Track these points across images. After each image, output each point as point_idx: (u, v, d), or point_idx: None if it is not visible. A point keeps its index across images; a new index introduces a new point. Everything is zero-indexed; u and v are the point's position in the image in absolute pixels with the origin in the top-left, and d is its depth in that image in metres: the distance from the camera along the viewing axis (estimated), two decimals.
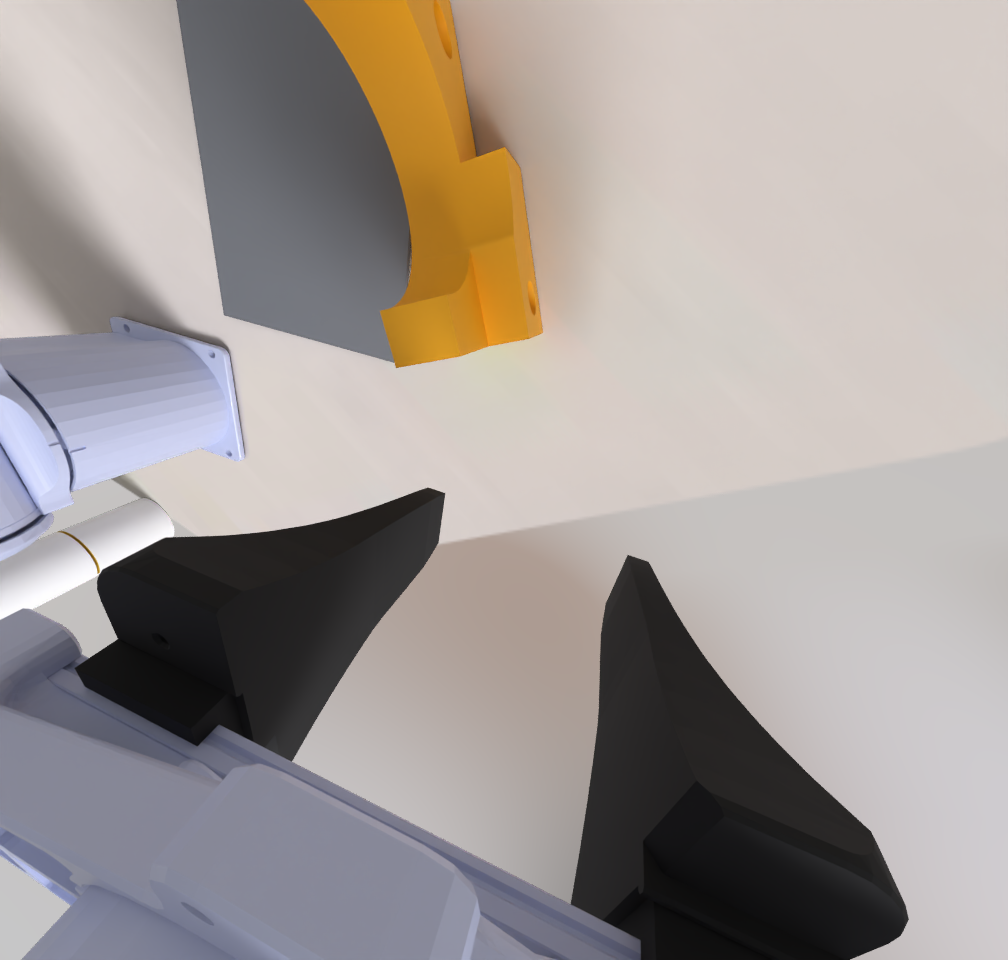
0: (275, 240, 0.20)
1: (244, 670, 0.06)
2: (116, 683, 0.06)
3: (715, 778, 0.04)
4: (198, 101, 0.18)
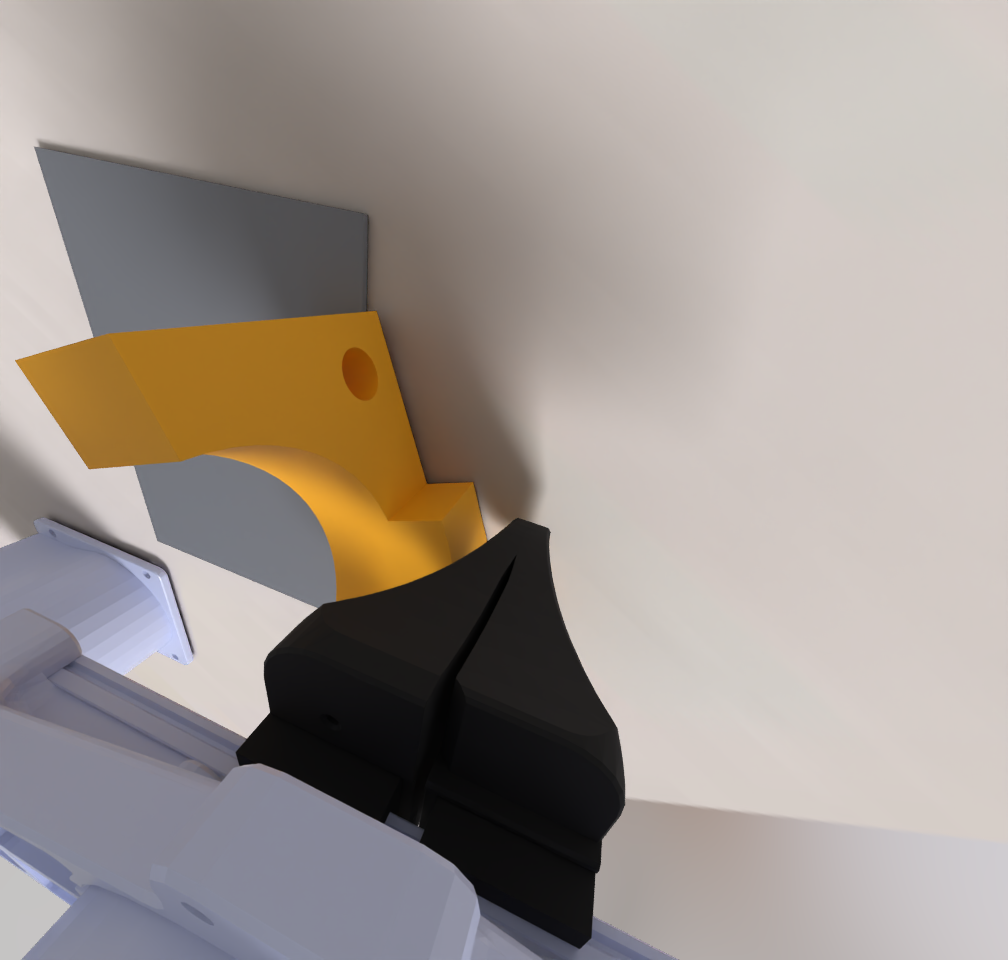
0: (207, 490, 0.17)
1: (421, 754, 0.05)
2: (283, 769, 0.05)
3: (478, 678, 0.05)
4: None
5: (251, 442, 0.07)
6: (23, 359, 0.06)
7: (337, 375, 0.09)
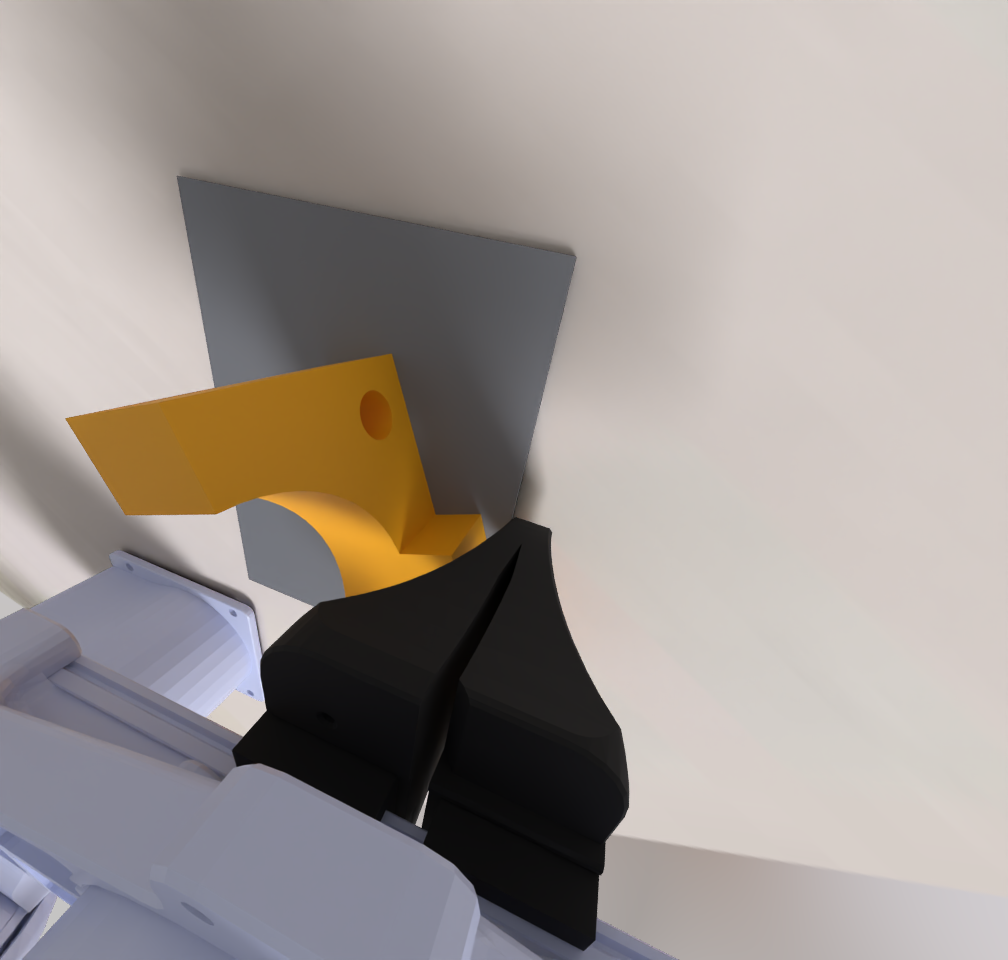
0: (318, 533, 0.16)
1: (417, 753, 0.05)
2: (279, 767, 0.05)
3: (481, 680, 0.05)
4: None
5: (278, 490, 0.08)
6: (73, 418, 0.06)
7: (355, 418, 0.10)
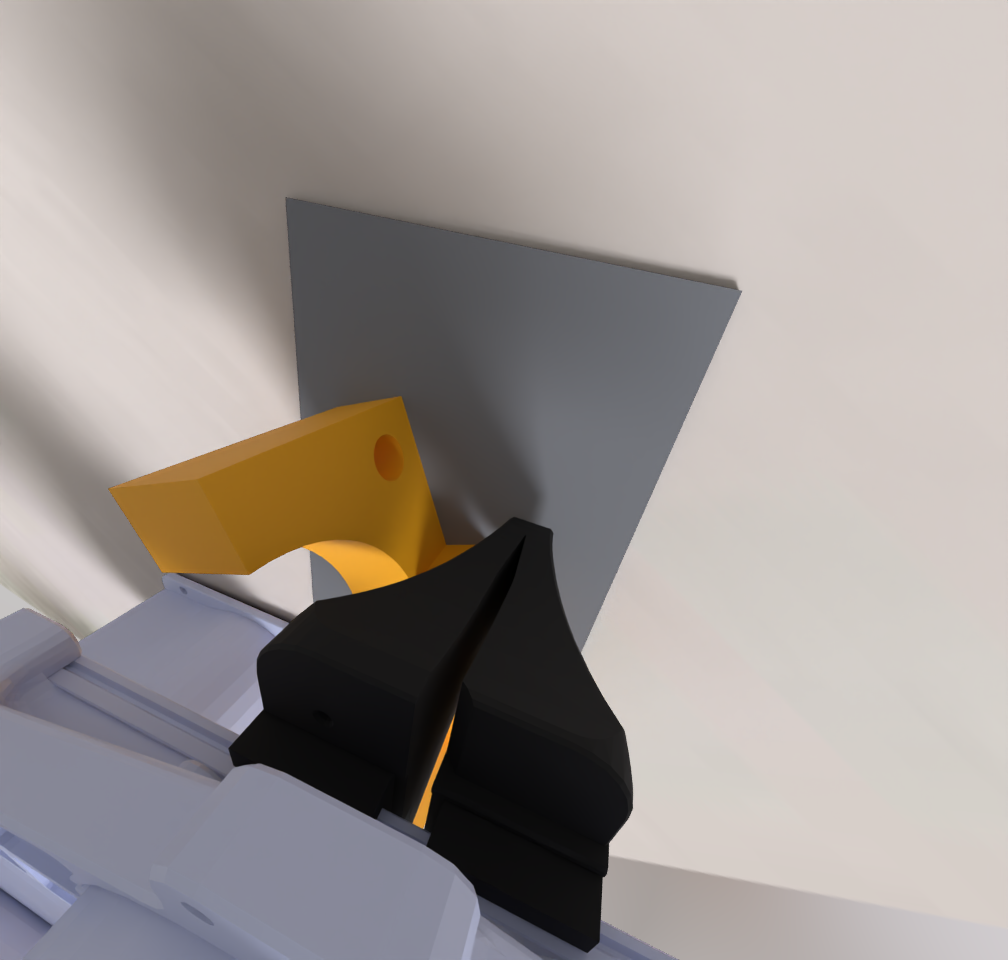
0: None
1: (414, 751, 0.05)
2: (275, 766, 0.05)
3: (485, 681, 0.05)
4: None
5: (302, 543, 0.08)
6: (116, 488, 0.07)
7: (370, 464, 0.10)
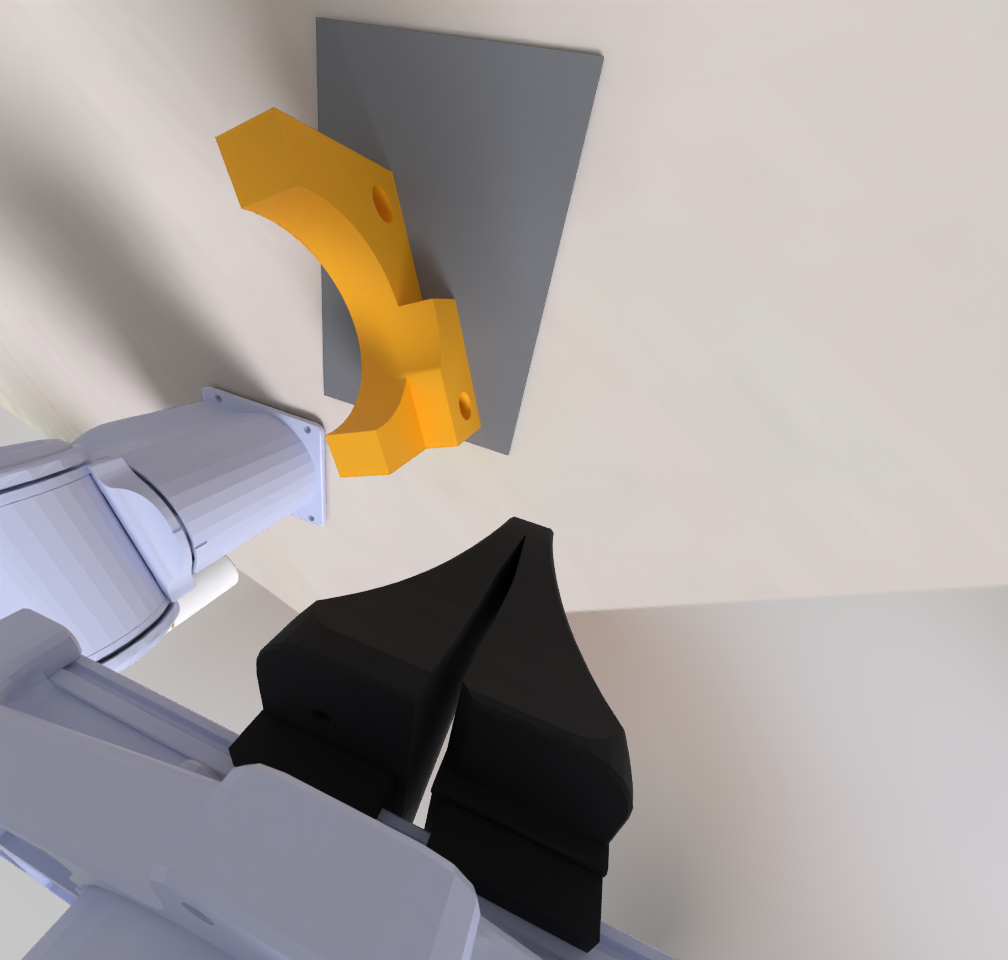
0: None
1: (413, 751, 0.05)
2: (275, 766, 0.05)
3: (485, 681, 0.05)
4: None
5: (327, 199, 0.13)
6: (220, 135, 0.12)
7: (369, 195, 0.15)
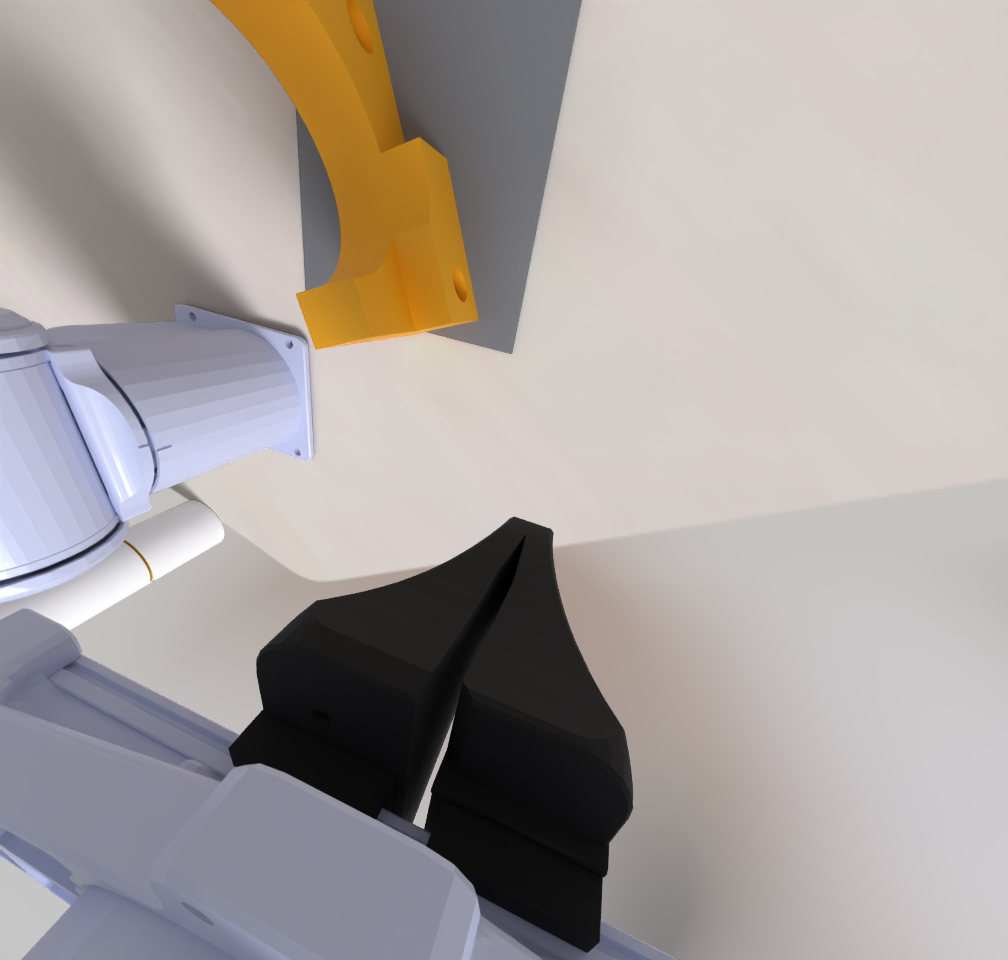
0: None
1: (414, 751, 0.05)
2: (275, 766, 0.05)
3: (485, 682, 0.05)
4: None
5: None
6: None
7: (343, 5, 0.13)
